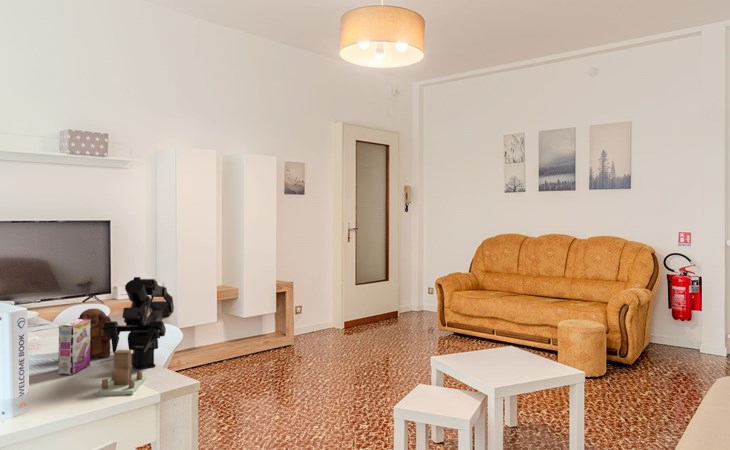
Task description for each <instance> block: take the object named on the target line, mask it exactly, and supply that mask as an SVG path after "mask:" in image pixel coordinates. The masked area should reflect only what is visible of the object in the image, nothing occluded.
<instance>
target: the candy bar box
mask: <svg viewBox="0 0 730 450" xmlns="http://www.w3.org/2000/svg"><path fill="white" fill-rule="evenodd" d="M90 332H91V320H87V319H78V318H77V319H74V320H72V321H68V322H66V323H63V324H60V325H58V367H57V368H58V369H57V370H58V371H57V372H58V373H57V374H58V375H60V376H61V375H62V376H72V375H75V374H77V373H78V372H80V371H82V370H84V369H85V368H87V367H90V365H91V359H90Z"/></svg>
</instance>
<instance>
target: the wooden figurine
mask: <svg viewBox="0 0 730 450" xmlns="http://www.w3.org/2000/svg"><path fill="white" fill-rule="evenodd" d="M77 319H87V320H91V332H90V360H100V359H107V358H109V357H110V356H111V339H110V338H109V337H107V336H106V335H105V333H104V331H103V329H102V326H103V324H104V322H106V321H112V319H111V318H110V316H108V315H107V314H106V312H104V311H103V310H102V309H99V308H88V309H86V310H84V311H83V312H81V313H80V315H79V317H78V318H77Z"/></svg>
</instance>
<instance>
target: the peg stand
mask: <svg viewBox="0 0 730 450" xmlns="http://www.w3.org/2000/svg"><path fill="white" fill-rule="evenodd" d="M110 373H111V374H110V376H111V379H108V378H104V379H102V380H101V386H102V387H100V388H99V389H98V390H97V391H96V396H97V397H98V396H99V397H102V396H127V395H126V394H133V393H134V392H135V391H136V392H137V390H138V389H139V388H140V387H141V386H142V385H143V384H144V382H146V380H147V375H143V370H142V369H139V370H136V375H131V379H129V384H128V385H117V386H114V370H112V371H111V372H110ZM140 385H141V386H140ZM139 386H140V387H139ZM138 387H139V388H138ZM137 388H138V389H137ZM136 389H137V390H136ZM136 392H135V393H136ZM135 393H134V394H135ZM134 394H133V395H134Z"/></svg>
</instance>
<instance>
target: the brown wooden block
mask: <svg viewBox="0 0 730 450" xmlns="http://www.w3.org/2000/svg"><path fill="white" fill-rule="evenodd" d="M131 354H132V350H129V349H116V351H115V353H113V371H114V386H117V385H128V384H129V379H131V376H132V365H131Z"/></svg>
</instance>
